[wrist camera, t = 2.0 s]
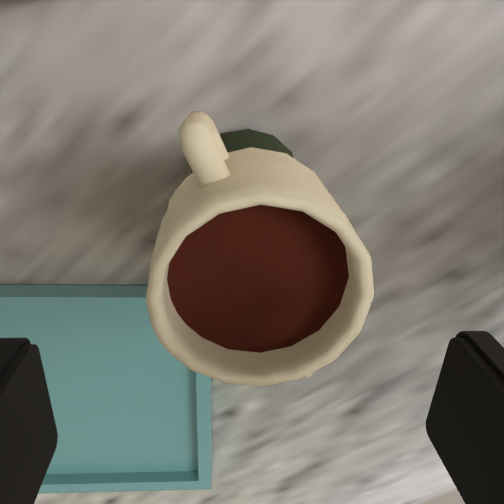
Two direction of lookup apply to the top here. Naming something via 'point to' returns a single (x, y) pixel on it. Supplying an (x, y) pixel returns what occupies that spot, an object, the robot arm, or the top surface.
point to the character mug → (254, 263)
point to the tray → (113, 390)
